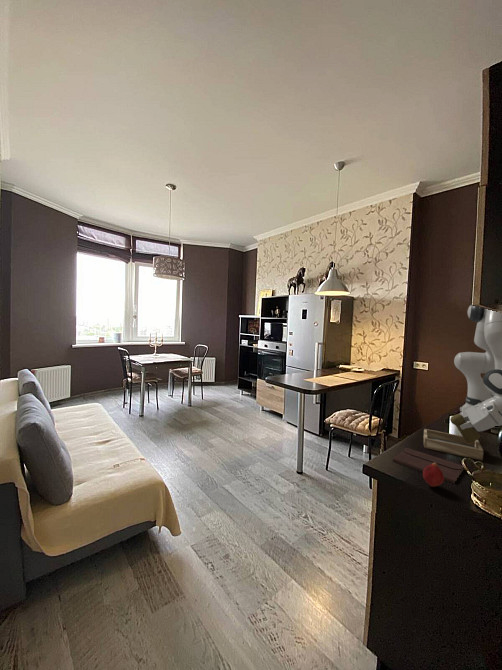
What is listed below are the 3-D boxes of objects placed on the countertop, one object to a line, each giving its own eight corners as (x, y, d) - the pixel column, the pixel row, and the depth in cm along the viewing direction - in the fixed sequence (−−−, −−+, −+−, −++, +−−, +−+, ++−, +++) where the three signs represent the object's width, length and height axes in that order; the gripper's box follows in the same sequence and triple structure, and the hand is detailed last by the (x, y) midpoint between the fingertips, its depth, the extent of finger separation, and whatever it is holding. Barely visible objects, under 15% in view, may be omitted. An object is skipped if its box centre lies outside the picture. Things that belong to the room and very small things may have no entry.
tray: (423, 437, 138) (424, 428, 138) (476, 447, 128) (477, 439, 128) (423, 447, 126) (424, 438, 126) (482, 460, 116) (483, 450, 116)
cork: (478, 440, 120) (458, 417, 122) (464, 443, 124) (445, 421, 127) (482, 432, 123) (463, 410, 126) (468, 435, 128) (450, 414, 130)
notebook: (454, 485, 98) (454, 479, 97) (392, 462, 112) (393, 457, 112) (463, 470, 108) (464, 465, 108) (406, 451, 122) (406, 446, 122)
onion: (426, 490, 93) (428, 465, 92) (419, 480, 99) (420, 457, 98) (446, 492, 92) (448, 468, 92) (437, 482, 98) (439, 459, 97)
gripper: (482, 396, 129) (451, 411, 135) (493, 410, 111) (457, 427, 117) (493, 409, 128) (461, 423, 134) (506, 425, 110) (468, 441, 116)
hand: (459, 425), depth 125 cm, fingers closed on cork, 4 cm apart
